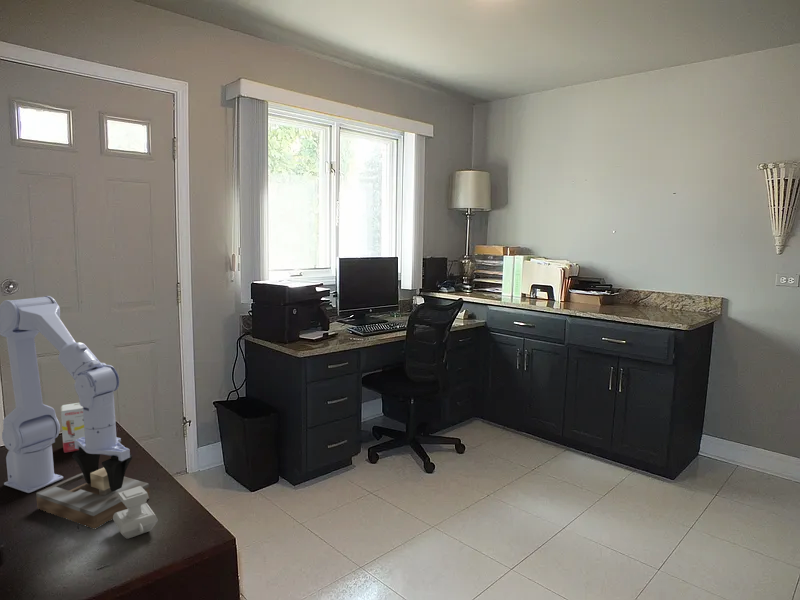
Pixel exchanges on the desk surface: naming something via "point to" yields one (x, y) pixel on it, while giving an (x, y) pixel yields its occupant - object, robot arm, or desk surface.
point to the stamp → (134, 513)
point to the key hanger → (100, 481)
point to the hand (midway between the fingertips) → (104, 485)
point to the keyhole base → (78, 514)
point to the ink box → (72, 425)
